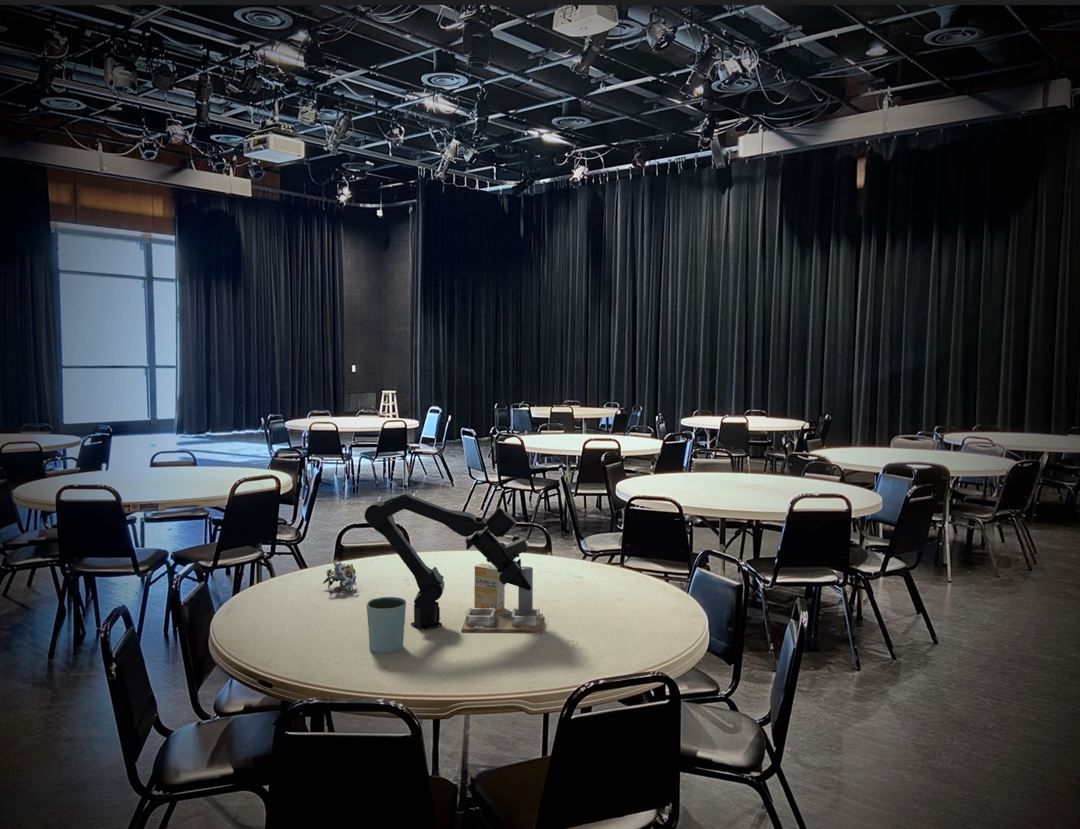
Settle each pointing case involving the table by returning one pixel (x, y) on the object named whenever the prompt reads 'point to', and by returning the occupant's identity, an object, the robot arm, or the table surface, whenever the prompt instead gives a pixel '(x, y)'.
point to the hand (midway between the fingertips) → (530, 587)
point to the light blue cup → (386, 624)
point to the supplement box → (488, 588)
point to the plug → (526, 592)
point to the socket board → (502, 621)
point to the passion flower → (342, 576)
